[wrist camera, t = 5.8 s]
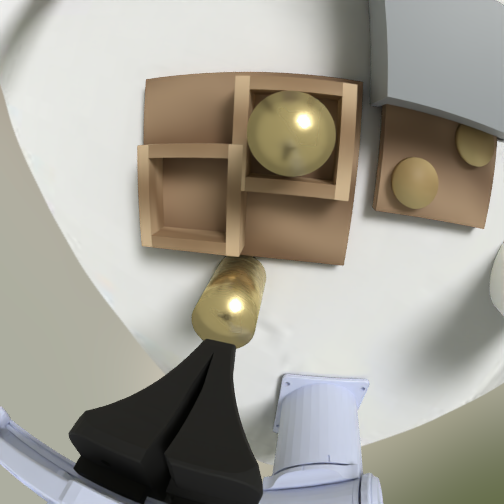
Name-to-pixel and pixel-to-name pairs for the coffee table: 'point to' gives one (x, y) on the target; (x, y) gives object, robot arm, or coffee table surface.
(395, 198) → the board
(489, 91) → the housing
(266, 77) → the peg board
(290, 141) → the placed peg
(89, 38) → the coffee table surface
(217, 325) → the brass peg
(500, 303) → the base with upright slab
